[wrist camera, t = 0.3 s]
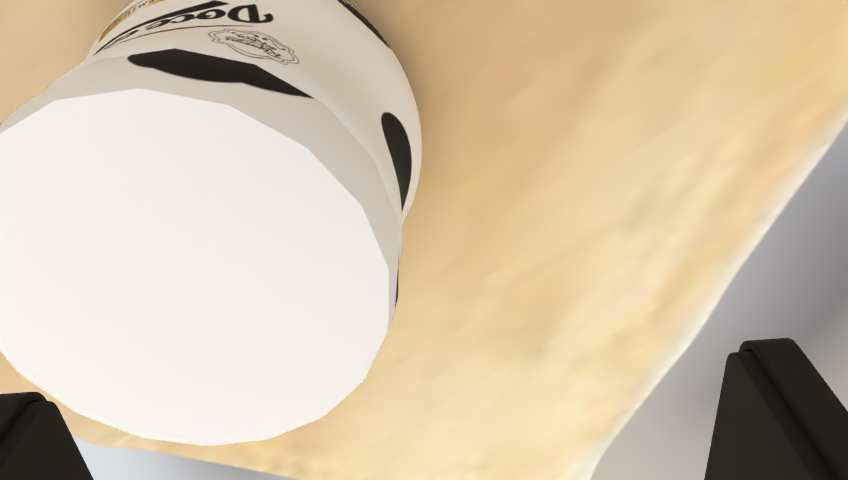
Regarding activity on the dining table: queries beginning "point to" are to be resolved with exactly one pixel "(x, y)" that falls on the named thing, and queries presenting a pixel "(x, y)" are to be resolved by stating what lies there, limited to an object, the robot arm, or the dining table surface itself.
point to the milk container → (209, 218)
